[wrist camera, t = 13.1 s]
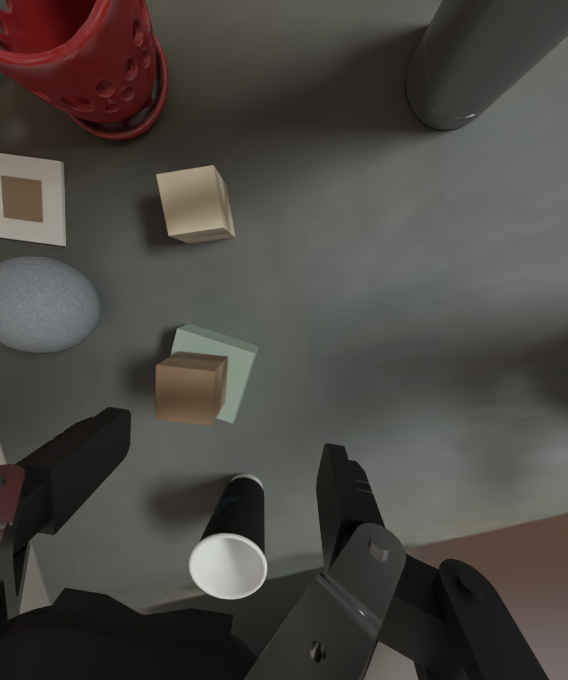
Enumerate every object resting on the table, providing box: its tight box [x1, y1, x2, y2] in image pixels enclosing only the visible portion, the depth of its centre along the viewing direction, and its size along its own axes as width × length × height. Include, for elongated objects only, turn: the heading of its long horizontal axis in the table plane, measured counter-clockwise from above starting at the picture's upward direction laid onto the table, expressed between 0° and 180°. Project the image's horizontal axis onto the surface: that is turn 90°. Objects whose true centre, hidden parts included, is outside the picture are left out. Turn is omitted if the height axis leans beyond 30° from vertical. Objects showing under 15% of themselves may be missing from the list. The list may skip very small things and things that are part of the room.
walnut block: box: [155, 351, 228, 426], centre depth 29 cm, size 6×6×6 cm
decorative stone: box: [0, 256, 101, 353], centre depth 29 cm, size 10×10×10 cm
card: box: [0, 153, 66, 246], centre depth 31 cm, size 9×9×1 cm
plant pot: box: [0, 0, 168, 140], centre depth 23 cm, size 13×13×12 cm
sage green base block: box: [170, 324, 259, 423], centre depth 33 cm, size 9×9×4 cm
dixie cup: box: [189, 474, 267, 599], centre depth 33 cm, size 8×8×11 cm
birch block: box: [156, 165, 235, 244], centre depth 29 cm, size 6×6×6 cm
